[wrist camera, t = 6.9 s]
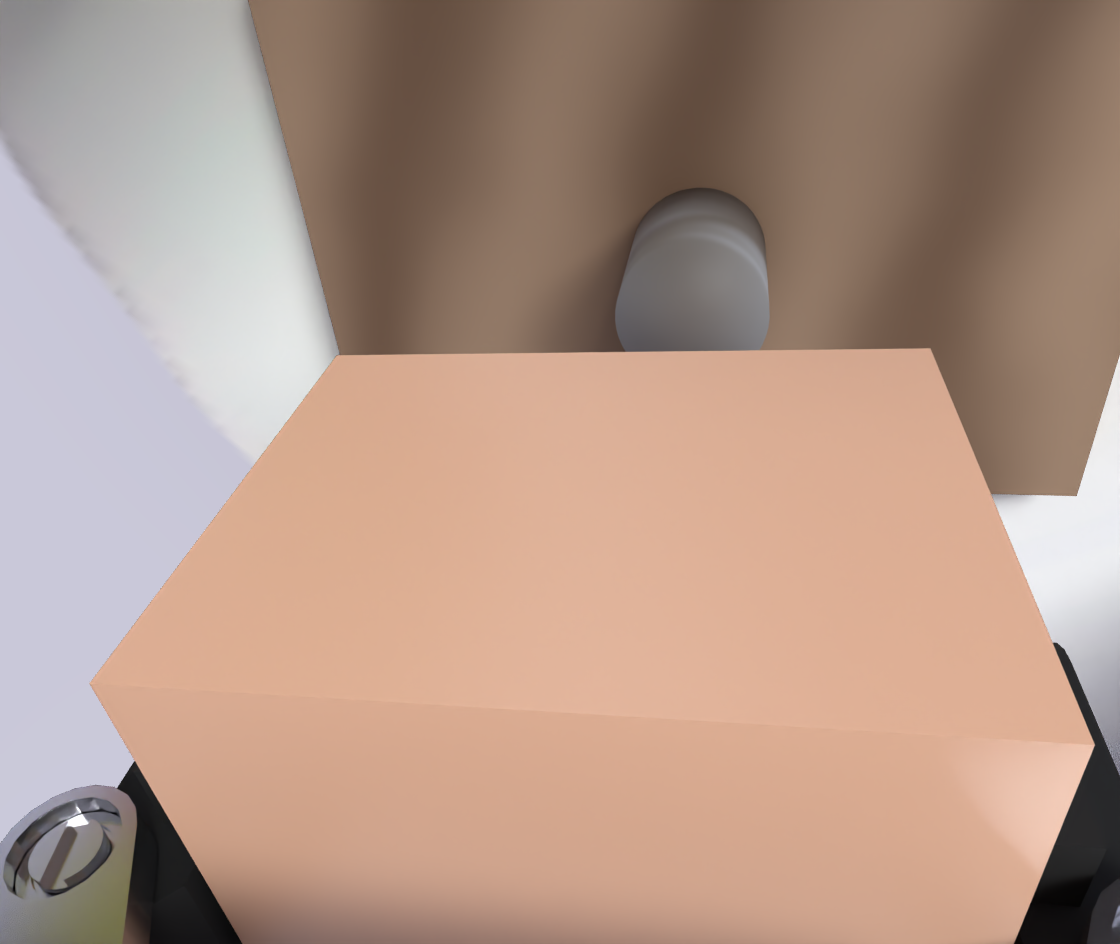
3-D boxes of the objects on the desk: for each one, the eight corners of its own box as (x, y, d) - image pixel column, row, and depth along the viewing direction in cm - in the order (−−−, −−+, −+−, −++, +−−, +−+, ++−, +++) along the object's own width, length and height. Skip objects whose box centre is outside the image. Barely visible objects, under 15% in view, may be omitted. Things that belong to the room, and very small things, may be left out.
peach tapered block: (930, 348, 9) (1095, 745, 5) (861, 749, 13) (926, 1157, 9) (336, 355, 10) (89, 682, 6) (433, 721, 14) (318, 1072, 10)
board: (1233, -143, 17) (1398, -142, 12) (1060, 464, 24) (1125, 590, 20) (267, -48, 20) (144, -22, 16) (387, 451, 28) (326, 555, 24)
